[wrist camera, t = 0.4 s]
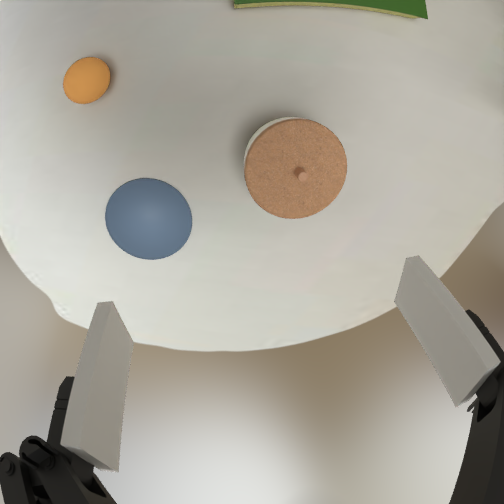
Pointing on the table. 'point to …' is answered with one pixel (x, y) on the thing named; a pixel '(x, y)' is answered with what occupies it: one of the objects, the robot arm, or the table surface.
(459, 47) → the table surface
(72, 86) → the ball
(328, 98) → the table surface
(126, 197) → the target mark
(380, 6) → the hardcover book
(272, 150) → the lidded jar
